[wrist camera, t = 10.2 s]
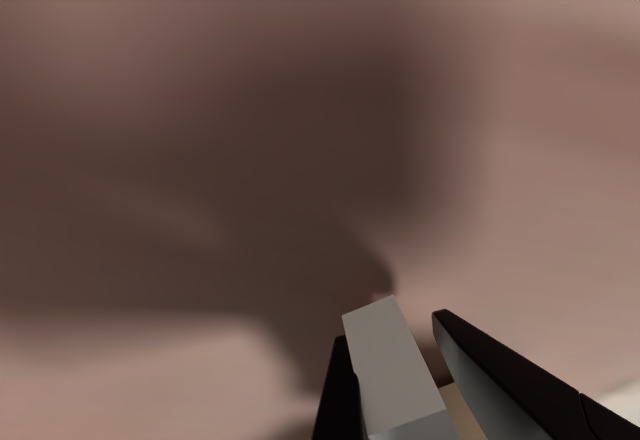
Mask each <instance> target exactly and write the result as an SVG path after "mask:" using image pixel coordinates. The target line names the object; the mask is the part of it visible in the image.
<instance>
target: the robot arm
mask: <svg viewBox="0 0 640 440" xmlns="http://www.w3.org/2000/svg"><path fill="white" fill-rule="evenodd" d="M432 326H433V334H434V337H435V340H436V342H437V344H438V347H439V349H440V351H441V353H442V355H443V357H444V360H445V362H446V364H447V366H448V368H449V370H450V373H451V375H452V377H453V379H454V381H455V383H456V385H457V387H458V390H459V392H460V393H461V395H462V397H463V399H464V401H465V402H466V404H467V406H468V407H469V409H470V411H471V412H472V414H473V416H474V417H475V419H476V421H477V423H478V424H479V426H480V428H481V429H482V431H483V433H484V434H485V436H486V438H487V439H488V440H640V427H638V426H636V425H634V424H633V423H631V422H629V421H628V420H626V419H624V418H622V417H621V416H619V415H617V414H616V413H614V412H612V411H611V410H609V409H607V408H606V407H604V406H602V405H601V404H599V403H597V402H596V401H594V400H593V399H591V398H589V397H588V396H586V395H585V394H583V393H580V394H579V392H578V390H576V389H575V388H573V387H571V386H570V385H568V384H567V383H565V382H563V381H562V380H560V379H559V378H557V377H555V376H554V375H552V374H550V373H549V372H547V371H546V370H544V369H542V368H541V367H539V366H538V365H536V364H534V363H533V362H531V361H530V360H528V359H526V358H525V357H523V356H521V355H520V354H518V353H517V352H515V351H513V350H512V349H510V348H509V347H507V346H505V345H504V344H502V343H501V342H499V341H497V340H496V339H494V338H492V337H491V336H489V335H488V334H486V333H484V332H483V331H481V330H480V329H478V328H476V327H475V326H473V325H471V324H470V323H468V322H467V321H465V320H463V319H462V318H460V317H459V316H457V315H455V314H454V313H452V312H451V311H449V310H447V309H442V310H438V311H434V312H433V313H432ZM311 440H370V439H369V438H368V435H367V430H366V426H365V421H364V417H363V412H362V402H361V393H360V385H359V380H358V377H357V375H356V373H354V370H353V366H352V361H351V357H350V352H349V347H348V343H347V338H346V334H345V335H341V336H337V337H336V338H335V340H334V345H333V349H332V353H331V357H330V361H329V365H328V370H327V374H326V378H325V382H324V386H323V391H322V395H321V399H320V403H319V407H318V411H317V416H316V420H315V424H314V428H313V432H312V437H311Z"/></svg>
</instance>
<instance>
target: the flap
mask: <svg viewBox="0 0 640 440" xmlns="http://www.w3.org/2000/svg"><path fill="white" fill-rule="evenodd" d="M342 320H343V324H344V329H345V334H346V338H347V343H348V347H349V352H350V357H351V361H352V366H353V370H354V373H356V375H357V377H358V380H359V385H360V393H361V402H362V412H363V417H364V421H365V426H366V430H367V435H368V438H369V439H370V440H488V439H487V438H486V436H485V434H484V433H483V431H482V429H481V428H480V426H479V424H478V423H477V421H476V419H475V417H474V416H473V414H472V412H471V411H470V409H469V407H468V406H467V404H466V402H465V401H464V399H463V397H462V395H461V393H460V392H459V390H458V387H457V385H456V383H452V384H449V385H446V386H444V387H441V388H438V389H437V387H436V384H435V382H434V380H433V378H432V376H431V374H430V372H429V369H428V367H427V365H426V363H425V361H424V359H423V357H422V354H421V352H420V350H419V348H418V346H417V344H416V342H415V339H414V337H413V335H412V333H411V331H410V329H409V327H408V324H407V322H406V320H405V318H404V316H403V314H402V312H401V309H400V307H399V305H398V303H397V301H396V299H395V296H394V294H393V295H390V296H388V297H386V298H383V299H381V300H378V301H376V302H373V303H371V304H368V305H366V306H363V307H361V308H359V309H356V310H354V311H351V312H349V313H346V314H344V315H342Z"/></svg>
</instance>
